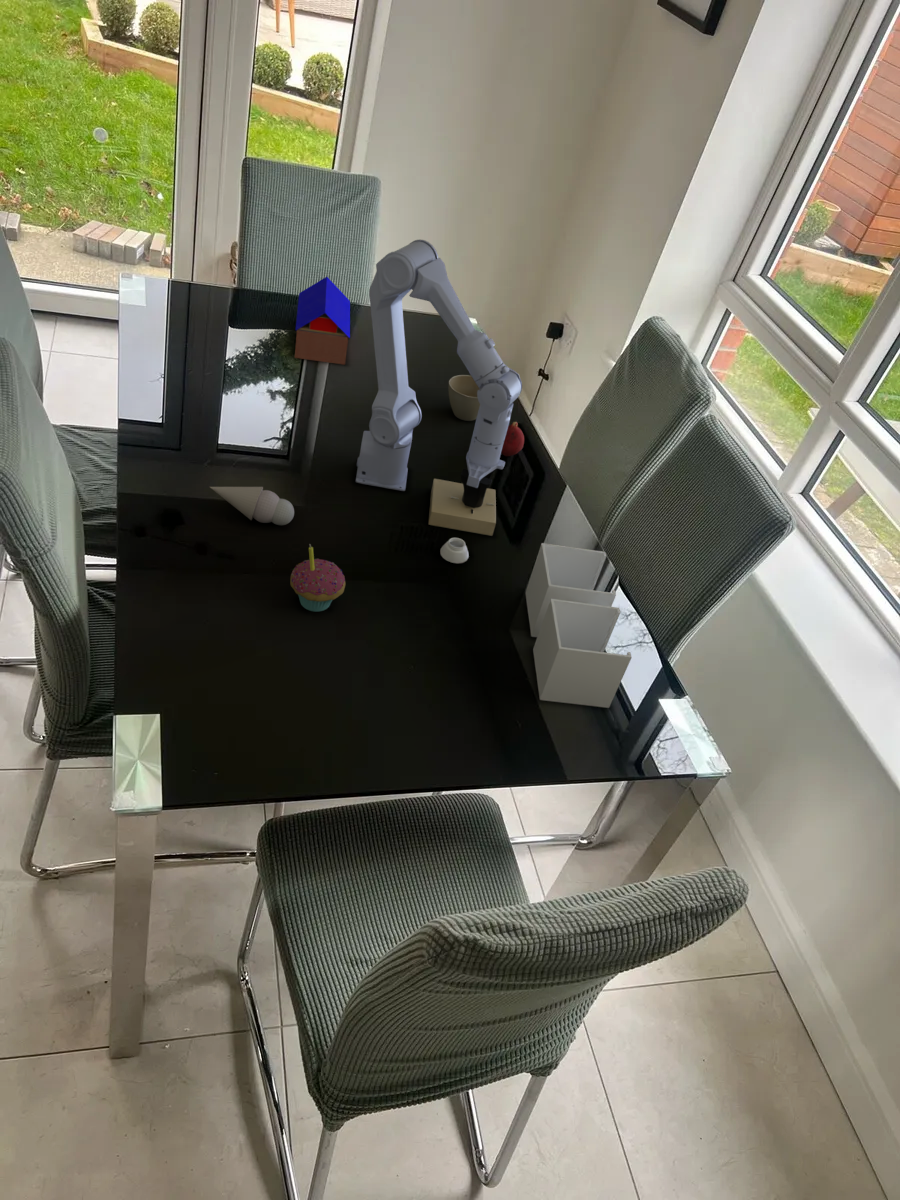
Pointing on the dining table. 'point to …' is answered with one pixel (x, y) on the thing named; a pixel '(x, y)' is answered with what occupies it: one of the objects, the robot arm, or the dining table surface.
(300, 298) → the house
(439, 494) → the panel
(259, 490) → the ice cream cone
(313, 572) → the cupcake
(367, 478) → the robot arm
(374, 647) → the dining table surface
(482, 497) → the knob
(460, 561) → the white jar
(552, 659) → the storage container
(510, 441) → the onion
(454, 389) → the flower pot
